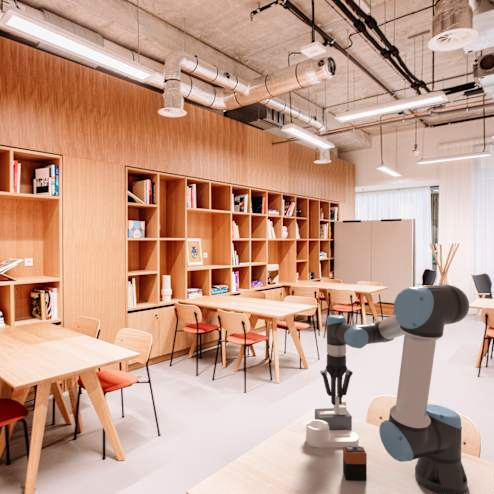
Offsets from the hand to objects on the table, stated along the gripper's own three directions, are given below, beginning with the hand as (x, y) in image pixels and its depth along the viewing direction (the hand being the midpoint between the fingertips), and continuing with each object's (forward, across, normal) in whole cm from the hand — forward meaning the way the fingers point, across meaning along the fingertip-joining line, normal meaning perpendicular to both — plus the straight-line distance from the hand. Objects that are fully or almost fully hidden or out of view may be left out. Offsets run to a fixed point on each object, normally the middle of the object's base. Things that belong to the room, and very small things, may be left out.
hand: (336, 412), depth 156 cm
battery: (+9, +3, +29) cm, 31 cm away
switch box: (+8, +1, -3) cm, 9 cm away
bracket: (+9, +4, +6) cm, 11 cm away
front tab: (+1, -2, 0) cm, 2 cm away
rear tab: (+1, -4, -5) cm, 6 cm away
